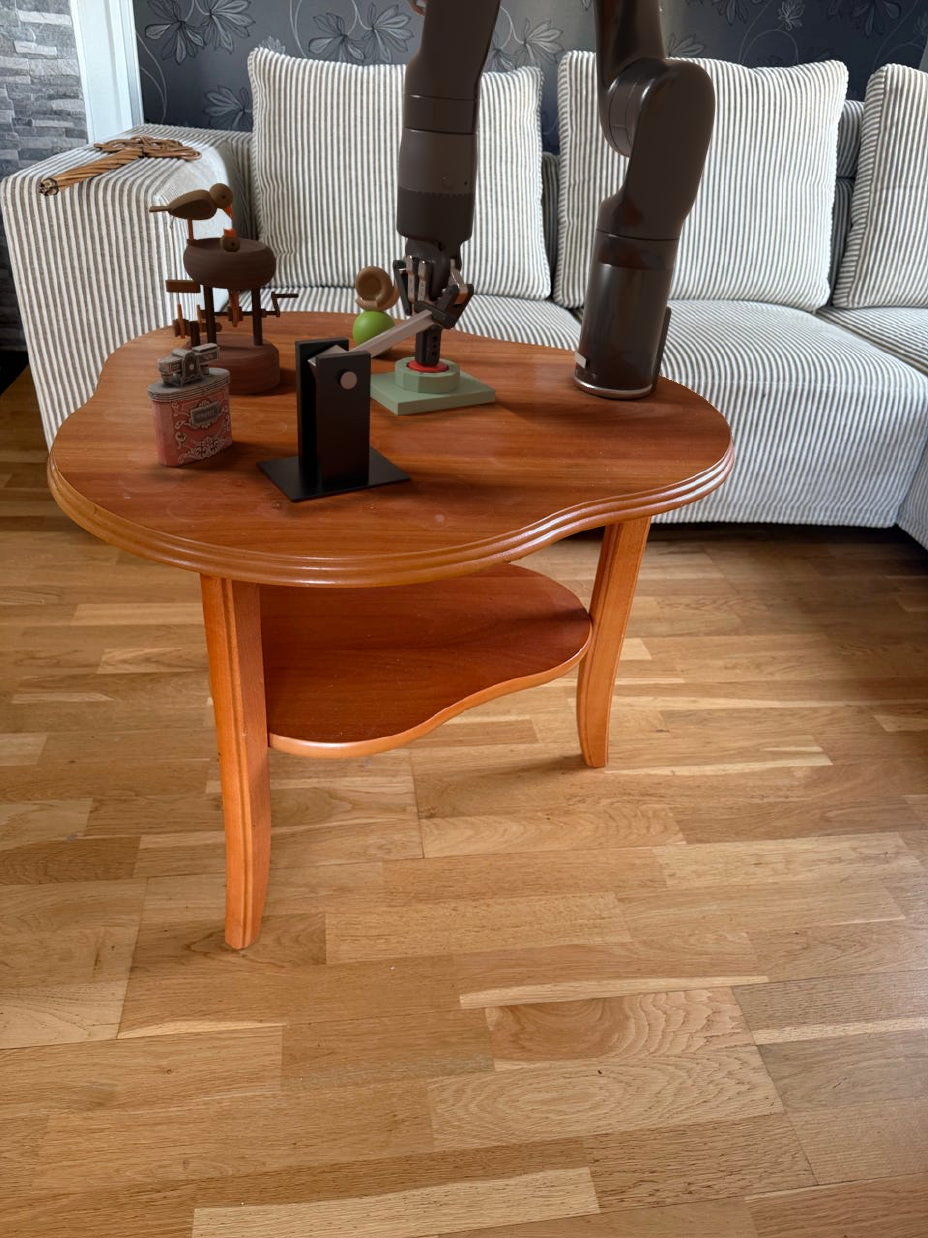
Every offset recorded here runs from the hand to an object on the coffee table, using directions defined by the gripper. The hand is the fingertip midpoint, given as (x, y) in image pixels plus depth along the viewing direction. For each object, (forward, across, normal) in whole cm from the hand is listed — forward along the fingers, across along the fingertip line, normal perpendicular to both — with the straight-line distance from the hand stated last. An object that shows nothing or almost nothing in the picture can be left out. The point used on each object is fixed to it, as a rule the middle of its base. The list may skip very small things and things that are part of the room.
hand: (426, 363), depth 93 cm
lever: (-6, -15, +13) cm, 21 cm away
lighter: (+5, -7, +27) cm, 28 cm away
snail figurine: (+4, +17, -3) cm, 18 cm away
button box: (+4, 0, 0) cm, 4 cm away
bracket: (+4, -15, +18) cm, 24 cm away
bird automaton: (+4, +14, +16) cm, 22 cm away
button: (+2, 0, 0) cm, 2 cm away
